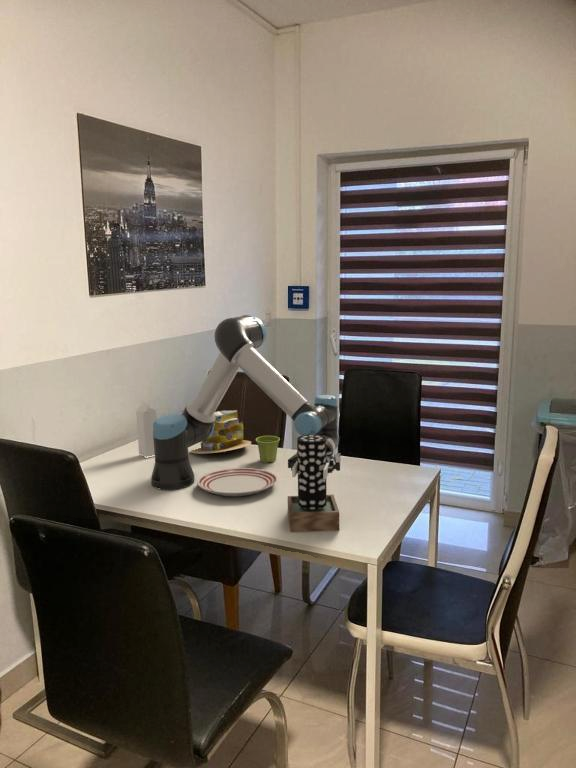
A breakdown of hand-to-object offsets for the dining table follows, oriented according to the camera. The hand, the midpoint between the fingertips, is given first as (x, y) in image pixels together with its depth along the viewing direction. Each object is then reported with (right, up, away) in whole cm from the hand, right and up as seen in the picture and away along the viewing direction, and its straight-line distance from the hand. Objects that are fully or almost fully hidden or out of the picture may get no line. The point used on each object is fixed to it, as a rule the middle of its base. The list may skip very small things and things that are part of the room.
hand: (309, 473), depth 178 cm
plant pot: (-14, -5, +67) cm, 68 cm away
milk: (-62, -4, +77) cm, 99 cm away
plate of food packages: (-33, -3, +81) cm, 88 cm away
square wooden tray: (+1, -15, +8) cm, 17 cm away
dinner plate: (-23, -11, +38) cm, 46 cm away
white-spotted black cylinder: (+1, -10, +7) cm, 12 cm away
